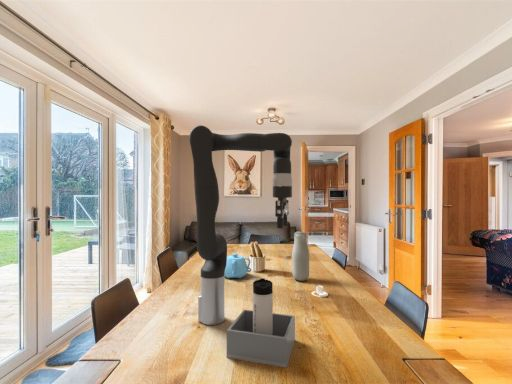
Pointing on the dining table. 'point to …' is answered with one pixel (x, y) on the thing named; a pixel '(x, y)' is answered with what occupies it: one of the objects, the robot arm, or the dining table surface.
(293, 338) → the crate
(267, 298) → the travel mug
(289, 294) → the dining table surface
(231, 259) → the decorative pot
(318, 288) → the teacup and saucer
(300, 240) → the grey bottle
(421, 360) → the dining table surface
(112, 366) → the dining table surface
